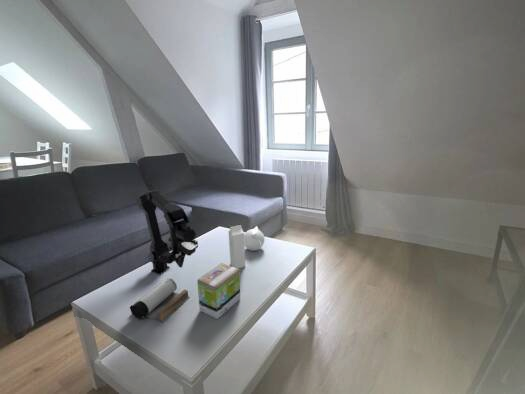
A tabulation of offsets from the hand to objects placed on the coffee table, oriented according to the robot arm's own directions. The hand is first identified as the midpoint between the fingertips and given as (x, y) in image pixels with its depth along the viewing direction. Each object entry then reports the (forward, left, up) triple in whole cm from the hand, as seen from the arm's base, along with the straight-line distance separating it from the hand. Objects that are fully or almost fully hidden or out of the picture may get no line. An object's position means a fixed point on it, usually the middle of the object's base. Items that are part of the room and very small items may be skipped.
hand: (180, 267), depth 127 cm
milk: (+15, +25, -10) cm, 31 cm away
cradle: (0, -14, -10) cm, 17 cm away
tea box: (+23, -5, -10) cm, 26 cm away
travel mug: (-2, -5, -6) cm, 8 cm away
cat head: (+15, +44, -10) cm, 48 cm away
